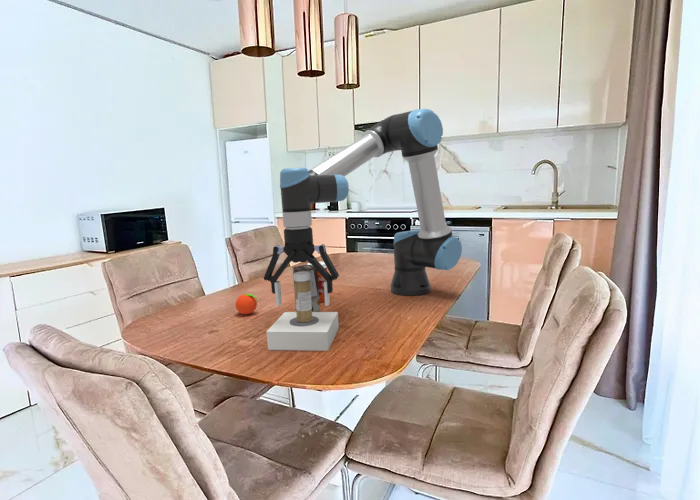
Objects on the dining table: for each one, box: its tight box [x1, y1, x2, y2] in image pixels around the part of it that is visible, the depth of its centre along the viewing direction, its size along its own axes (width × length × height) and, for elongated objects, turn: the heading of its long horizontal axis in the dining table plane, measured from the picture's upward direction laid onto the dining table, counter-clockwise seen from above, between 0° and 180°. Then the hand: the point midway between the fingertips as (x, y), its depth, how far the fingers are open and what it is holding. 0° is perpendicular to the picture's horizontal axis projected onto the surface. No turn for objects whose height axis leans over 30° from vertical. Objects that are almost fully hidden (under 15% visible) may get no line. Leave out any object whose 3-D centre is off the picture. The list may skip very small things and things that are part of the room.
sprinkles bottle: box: [292, 271, 313, 322], centre depth 111 cm, size 5×5×14 cm
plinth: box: [266, 311, 340, 352], centre depth 113 cm, size 16×16×5 cm
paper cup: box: [306, 260, 328, 304], centre depth 148 cm, size 8×8×14 cm
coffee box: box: [292, 264, 321, 312], centre depth 131 cm, size 9×6×16 cm
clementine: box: [235, 293, 259, 315], centre depth 137 cm, size 8×7×7 cm
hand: (303, 304), depth 111 cm, fingers open, 13 cm apart
